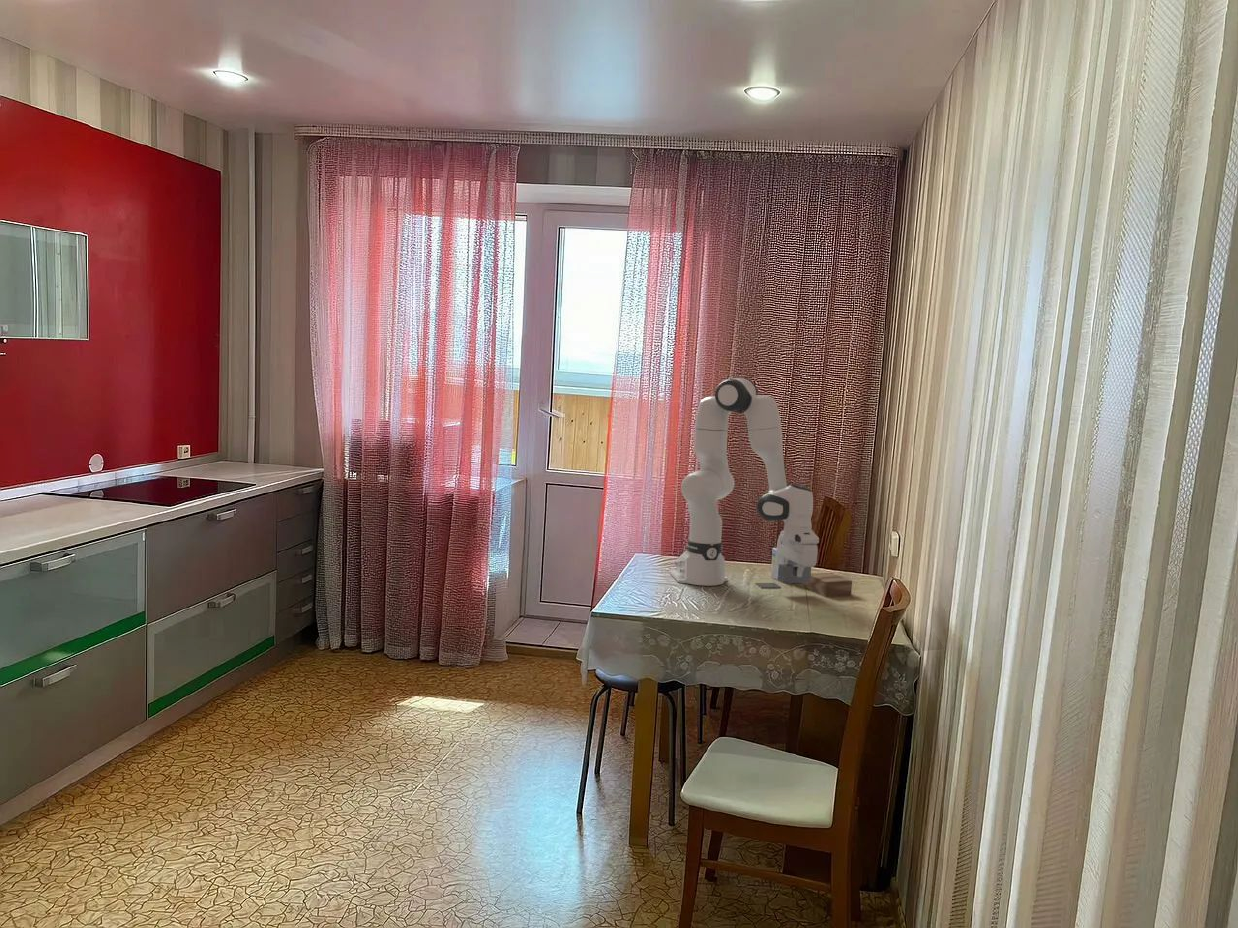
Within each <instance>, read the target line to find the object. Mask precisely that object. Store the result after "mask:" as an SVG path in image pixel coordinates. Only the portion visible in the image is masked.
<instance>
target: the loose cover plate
mask: <svg viewBox="0 0 1238 928" xmlns="http://www.w3.org/2000/svg"><path fill="white" fill-rule="evenodd" d="M755 585H756V586H757V585H758V586H757V587H759V588H760V587H761V588H760V589H781V588H782V586H780V585H778V584H777V583H776V582H755Z"/></svg>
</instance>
